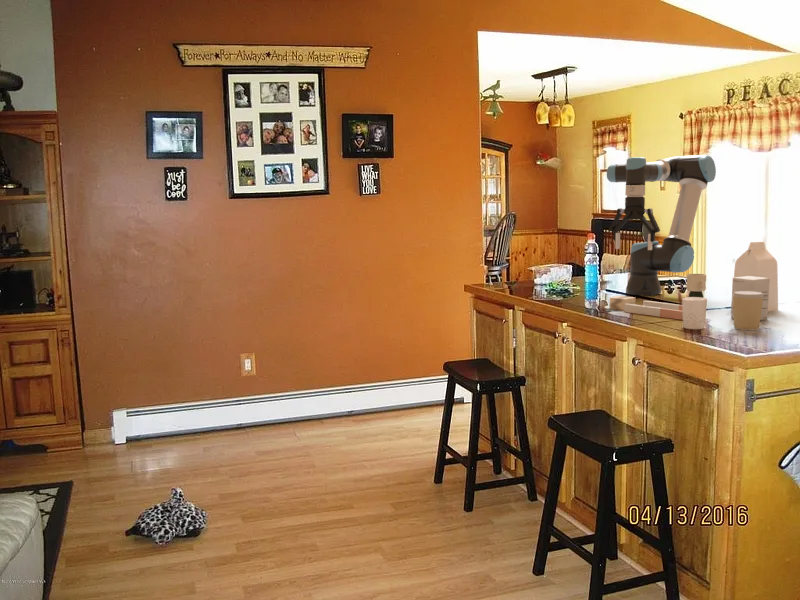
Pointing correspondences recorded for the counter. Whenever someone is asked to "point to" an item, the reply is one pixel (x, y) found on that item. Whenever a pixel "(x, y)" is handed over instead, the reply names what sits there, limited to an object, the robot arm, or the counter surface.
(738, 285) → the supplement box
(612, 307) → the maple block
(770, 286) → the milk
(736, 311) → the coffee cup
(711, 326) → the counter surface
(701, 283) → the character mug
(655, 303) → the channel
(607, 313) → the counter surface
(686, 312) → the white cup
